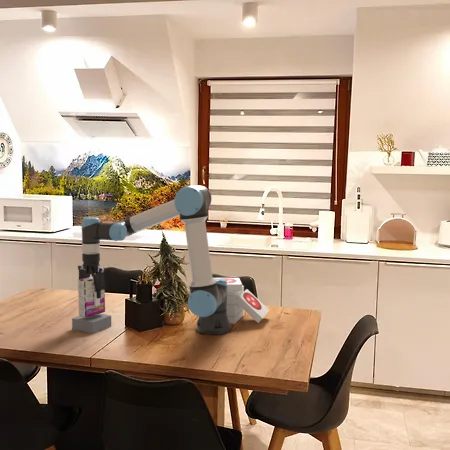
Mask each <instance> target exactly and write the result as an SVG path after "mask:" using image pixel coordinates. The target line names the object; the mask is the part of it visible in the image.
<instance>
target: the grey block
mask: <svg viewBox="0 0 450 450" xmlns="http://www.w3.org/2000/svg"><path fill="white" fill-rule="evenodd" d="M111 327H112V315H111V314H110V315H109V314H105V313H100V314H96V315H93V316H89V317H82V316H79V315H78V316H75V317H72V318H71V330H74V331H79V332H82V333H89V334H96V333H98V332H101V331H103V330H105V329H106V330H107V329H109V328H111Z"/></svg>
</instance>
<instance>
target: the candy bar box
mask: <svg viewBox="0 0 450 450" xmlns="http://www.w3.org/2000/svg"><path fill="white" fill-rule="evenodd" d="M77 284H78V285H77V288H78V289H77V291H78V316H82V317H89V316H93V315H96V314H104V313H105V312H106V302H105V301H106V294H105V293H106V291H105V289H106V288H105V289H104V290H101V298H100V305H98V306H94V291H96V289H95V285H94V279H93V277H92V276H90V277H88V278H83V279H79V278H78V279H77Z"/></svg>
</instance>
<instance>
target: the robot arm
mask: <svg viewBox="0 0 450 450" xmlns="http://www.w3.org/2000/svg"><path fill="white" fill-rule="evenodd" d="M211 203H212V193H211V191H210V190H209V189H208V188H207V187H206V186H203V185H200V184H196V185H194V184H193V185H187V186H184V187H182V188H180V189H179V190H178V191H177V193H176V194H175V196H174V199H172V200H170V201H167V202H165V203H162V204H160V205H158V206H155V207H152V208H150V209H147V210H145V211H142V212H140V213H137V214H135V215H132V216H130V217H127V218H125V219H122V220H119V221H114V222H101V221H100V218H99V217H93V216H92V217H91V216H90V217H89V216H88V217H83V218H82V220H81V252H82V253H81V254H82V255H81V258H82V259H81V260H82V262H83V263H82V264H80V265H77V269H78V279H83V278H88V277H93V279H94V285H95V289H96V291H94V306H98V305H100V298H101V290H104V289H106V286H105V270H106V268H105V267H102V266H101V265H100V261H101V253H100V251H101V249H100V248H101V246H100V244H101V243H100V241H114V242H118V241H119V242H120V241H121V242H122V241H124V240H125V239H126V238H127V237H130V236H132V235H134V234H136V233H138V232H141V231H144V230H147V229H150V228H152V227H154V226H156V225H160V224H162V223H165V222H168V221H169V220H173V219H175V218H177V217H179V220H180V222H182V223H183V224H184V229H185V236H186V237H185V238H186V245H187V251H188V252H187V253H188V258H189V259H188V260H189V268H190V274H191V282H190V283H189V284H188V287H189V296H188V299H187V307H188V309H189V310H190V312H191V313H192V314H193V315H195V316H196V317H198V319H197V322H196V331H197V332H199V333H201V334H204V335H205V334H206V335H223V334H227V333H229V332H230V331H231V323H230V322H229V318H228V315H227V287H228V286H227V281H226V280H224V279H217V278H218V277H214V276H213V272H212V271H213V270H212V264H211V255H210V249H209V241H208V233H207V226H206V225H207V223H206V220H207V219H208V217H209V212H208V209H209V207H210V206H211Z"/></svg>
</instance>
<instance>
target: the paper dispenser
mask: <svg viewBox="0 0 450 450" xmlns="http://www.w3.org/2000/svg"><path fill="white" fill-rule="evenodd" d="M216 278H217V279H224V280H226V281H227V286H228V287H227V315H228V318H229V322H230V324H234V325H235V324H236V323H238V321H240V319H241V318H242V317H243V316H244V311H245V312H246V313H247V314H248V315H249V316H250V317H251V318H252V319H253V320H254V321H255V323H256V322H257V323H258V324H259V323H260V322H261V321H262V320H263V319H264V318H265V316H266V315H267V314H268V313H269V311H270V309H269V308H268V307H267V306H266V305H265V304H264V303H263V302H261V300H259V298H257V297H256V296H255V295H254V294H253V293H252V292H251V291H250V290H249V289H247V288H246V289H245V285H243V283H242V281H241V279H240V277H216Z"/></svg>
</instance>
